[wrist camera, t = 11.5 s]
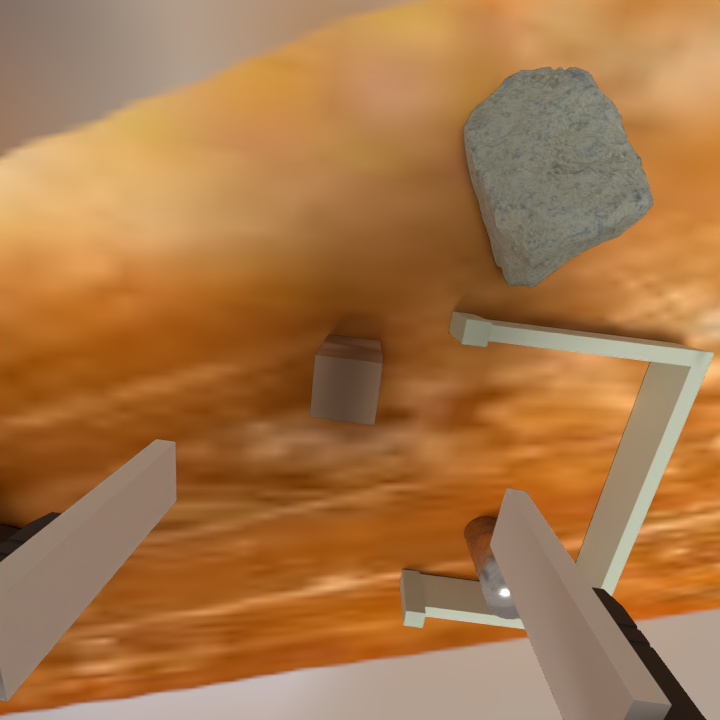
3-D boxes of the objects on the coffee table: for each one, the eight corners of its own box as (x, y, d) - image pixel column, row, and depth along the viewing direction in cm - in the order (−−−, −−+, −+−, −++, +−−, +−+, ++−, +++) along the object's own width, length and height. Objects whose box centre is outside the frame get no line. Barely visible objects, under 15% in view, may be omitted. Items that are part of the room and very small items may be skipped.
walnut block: (324, 383, 30) (309, 417, 23) (328, 334, 29) (315, 354, 22) (374, 389, 30) (374, 425, 23) (380, 340, 29) (383, 363, 22)
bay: (399, 582, 35) (403, 625, 31) (452, 311, 28) (467, 319, 23) (571, 604, 35) (598, 650, 31) (673, 339, 28) (728, 351, 23)
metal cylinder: (460, 547, 34) (482, 616, 27) (468, 514, 33) (492, 578, 26) (500, 551, 34) (531, 622, 27) (508, 518, 33) (543, 583, 26)
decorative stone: (576, 296, 27) (728, 201, 18) (461, 318, 24) (572, 217, 15) (513, 171, 30) (612, 37, 21) (405, 176, 27) (466, 22, 18)
